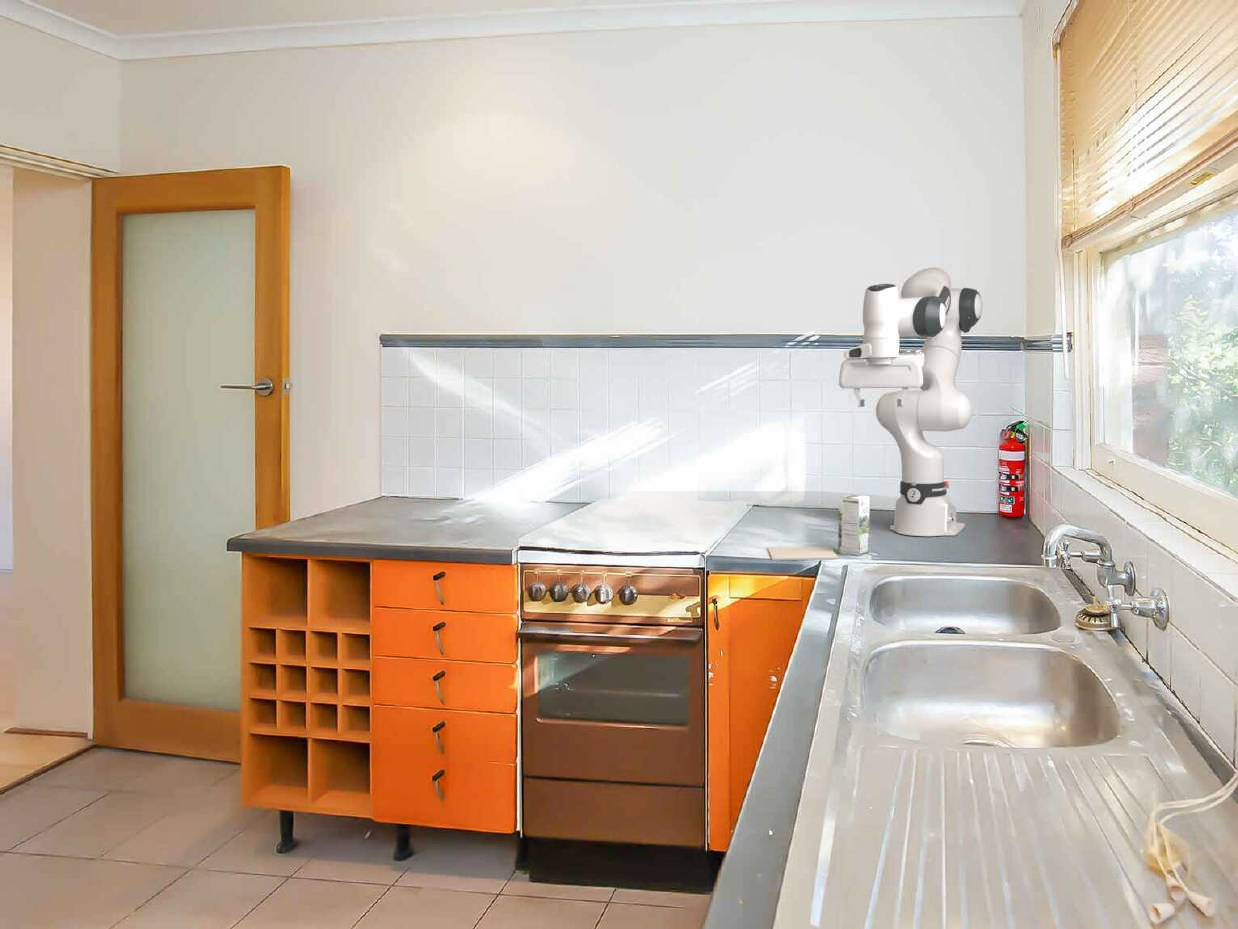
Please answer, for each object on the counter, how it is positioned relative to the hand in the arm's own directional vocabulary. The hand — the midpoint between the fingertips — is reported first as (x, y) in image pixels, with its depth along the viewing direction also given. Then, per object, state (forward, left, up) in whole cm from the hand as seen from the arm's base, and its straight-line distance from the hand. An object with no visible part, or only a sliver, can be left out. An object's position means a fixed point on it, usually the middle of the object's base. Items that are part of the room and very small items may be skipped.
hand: (880, 406), depth 263 cm
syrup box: (+5, -5, -37) cm, 38 cm away
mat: (+13, -15, -37) cm, 42 cm away
